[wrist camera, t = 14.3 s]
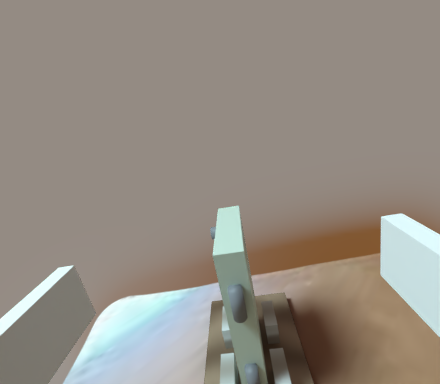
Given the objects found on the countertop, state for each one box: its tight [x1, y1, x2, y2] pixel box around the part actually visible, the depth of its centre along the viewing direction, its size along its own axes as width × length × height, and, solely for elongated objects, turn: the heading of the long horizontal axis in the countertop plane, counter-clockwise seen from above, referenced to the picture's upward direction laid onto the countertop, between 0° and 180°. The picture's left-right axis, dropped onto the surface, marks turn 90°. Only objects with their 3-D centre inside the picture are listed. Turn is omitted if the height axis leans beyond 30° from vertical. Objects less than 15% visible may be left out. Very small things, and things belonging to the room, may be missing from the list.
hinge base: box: [204, 293, 314, 384], centre depth 28 cm, size 20×12×4 cm, turn 178°
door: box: [211, 206, 268, 384], centre depth 25 cm, size 11×4×18 cm, turn 178°
